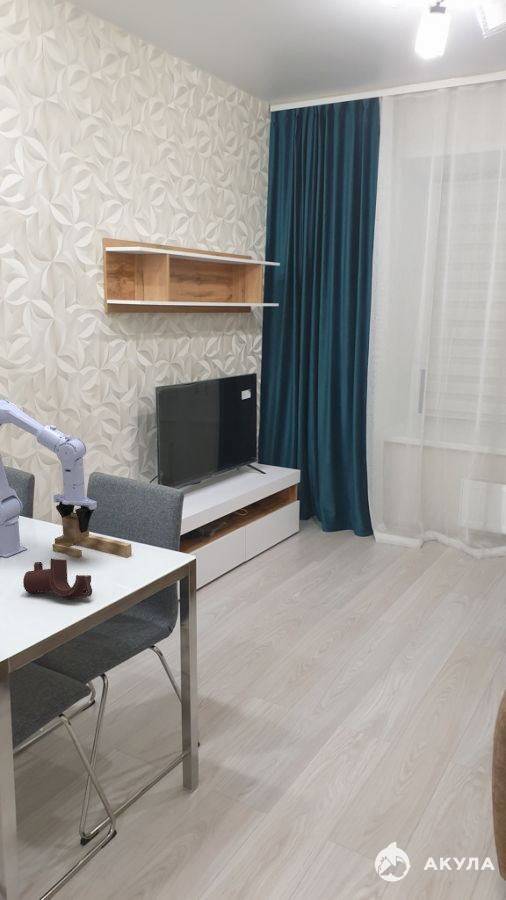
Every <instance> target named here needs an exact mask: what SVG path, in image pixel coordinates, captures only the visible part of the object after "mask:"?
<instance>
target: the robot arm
mask: <svg viewBox="0 0 506 900" xmlns="http://www.w3.org/2000/svg"><path fill="white" fill-rule="evenodd" d="M3 424H12V425H14V426H16V427H17V428H20V429H22V430H24V431H25V432H27V433H29V434H31V435H33V436H35V438H36V441H37V443H38V444H40V445H41V446H43V447H44V448H46V449H47V450H49V451H51V452H53V453H54V454H56V456H57V459H58V460H59V461H60V463H61V464H60V465H61V471H62V487H63V494H62V493H58V494H57V493H56V494H54V495H53V502H54V503H59V504H58V505H56V506H55V508H56V510H57V512H58V513H59V515H60V517H61V518H62V517H65V516H68V515H71V513H72V512H74V513H76V514H77V516H78V520H79V527H80V532H81V533H83V532H86V531H87V530H88V525H89V526H90V520H91V517H92V515H93V514H94V511H95V509H97V508H98V504H97V503H98V502H97V500H93V499H90V498H89V497H87V496H86V489H85V471H84V470H85V469H84V457H85V455H86V454H87V445H86V444H85V442H84V441H82V440H81V439H80V438H79V437H78V438H77V437H74V438H71V435H69V434H67V435H66V433H63V432H62V431H60V430H58V429H57V426H55V424H54V425H50V424H47V425H42V424H41V423H39V422H38V421H36V419H33V418H32V417H31V416H30V415H28V414H27V413H26V412H24V411H22V410H21V409H19V408H18V406H17V405H16V404H15V403H13V402H11V401H10V400H9V399H6V398H0V427H2V425H3ZM75 506H77V507H78V508H75ZM23 507H24V506H23V502H22V501H21V500H20V497H18V495H17V492H16V490H15V489H14V488H12V487H11V486H10V485H9V480H8V477H7V475H6V470H5V466H4V463H3V459H2V455H1V454H0V557H3V558H8V557H11V556H14V555H16V554H18V553H21V552H23V551H27V549H28V547H26V546H22V545H21V538H20V525H19V519H20V515H21V514H22V512H23Z"/></svg>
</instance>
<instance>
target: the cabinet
mask: <svg viewBox="0 0 506 900" xmlns="http://www.w3.org/2000/svg"><path fill="white" fill-rule="evenodd" d="M61 521H62V535H63V538H65V539H69V540H73V541H78V540H81V539H83V538H86V537H88V536H89V534H90V528H89V527H90V524H89V525H88V530H87V531H86V532H83V533H81V532H80V527H79V520H78V516H77V514H76V512H75V511H73V512H72V513H71V515H68V516H65V517H61Z"/></svg>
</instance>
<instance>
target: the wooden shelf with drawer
mask: <svg viewBox="0 0 506 900" xmlns="http://www.w3.org/2000/svg"><path fill="white" fill-rule="evenodd" d="M73 545H75V546H79V547H82V548H86V549H90V550H95V551H99V552H102V553H108V554H110V555H114V554H115V556H119V557H124V558H129V557H132V554H133V553H132V543H129V542H125V541H121V540H116V539H113V538H109V537H108V538H107V537H104V536H98V535H94V534H90V533H89V536H88V537H86V538H83V539H81V540H78V541H73V540H69V539H65V538H63V534H62V535H60V536H57V537H55V538H54V543H53V544H52V552H55V553H60V554H63V555H68V556H71V557H76V558H78V559H79V558H82V557H83V550H82V549H79V548H76V547H75V548H74V547H72V546H73Z"/></svg>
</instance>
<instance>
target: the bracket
mask: <svg viewBox="0 0 506 900" xmlns="http://www.w3.org/2000/svg"><path fill="white" fill-rule="evenodd" d="M49 561H50V562H49V563H50V564H49V568H46V569H45V568H43V567H44V564H43V562H42V561H36V562H34V564H33V570H28V571H27V572H25V573H24V576H23V579H22V580H23V581H22V583H23V588H24V590H25V592H27V593H28V594H36V593H44V592H45V593H46V592H47V593H48V592H54V593H55V594H57V595H59V596H60V598H61V599H64V600H65V599H67V600H68V599H75V598H77V599H78V598H86V597H90V596H92V594H93V588H92V585H91V582H92V575H91V574H76V575H75V581H74V584H73V585H72V586H71V585H70V584H69V581H68V566H67V565H68V562H67V558H59V557H58V558H56V557H54V558H53V557H51V558H50V560H49Z"/></svg>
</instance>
